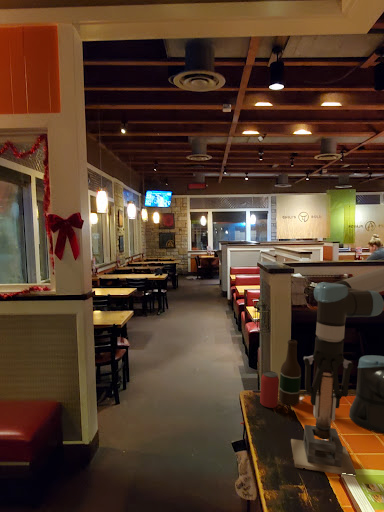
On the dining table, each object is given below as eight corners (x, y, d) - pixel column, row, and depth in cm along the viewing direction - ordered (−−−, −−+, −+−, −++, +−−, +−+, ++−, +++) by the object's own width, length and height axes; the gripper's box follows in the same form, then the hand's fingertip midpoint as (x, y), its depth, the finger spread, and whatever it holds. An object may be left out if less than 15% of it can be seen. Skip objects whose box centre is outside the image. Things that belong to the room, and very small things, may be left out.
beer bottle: (300, 406, 132) (304, 344, 130) (279, 404, 133) (283, 342, 131) (297, 397, 139) (301, 338, 138) (278, 394, 141) (281, 336, 139)
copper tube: (328, 432, 103) (332, 373, 101) (331, 440, 99) (335, 379, 97) (313, 430, 103) (318, 371, 102) (316, 438, 99) (320, 377, 98)
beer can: (277, 409, 129) (279, 378, 128) (259, 407, 130) (261, 376, 129) (277, 401, 135) (278, 371, 134) (259, 399, 137) (261, 369, 136)
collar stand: (344, 449, 106) (346, 427, 106) (356, 476, 94) (358, 452, 94) (290, 441, 109) (292, 420, 108) (295, 467, 97) (296, 443, 97)
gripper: (357, 336, 101) (351, 414, 103) (297, 331, 104) (292, 406, 106) (365, 344, 94) (358, 428, 96) (300, 338, 97) (294, 419, 99)
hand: (323, 416), depth 101 cm, fingers closed on copper tube, 4 cm apart
